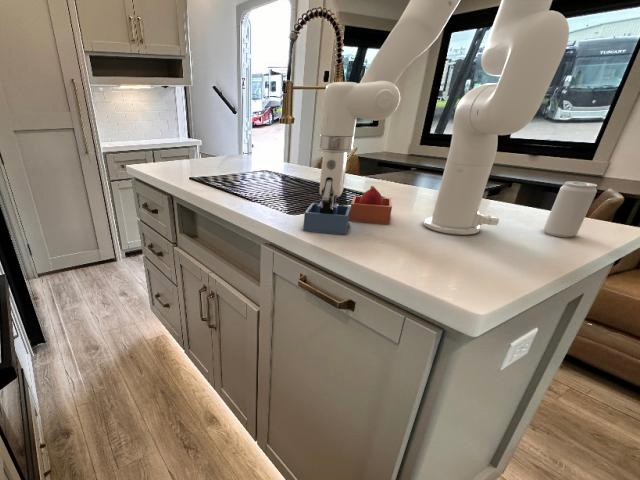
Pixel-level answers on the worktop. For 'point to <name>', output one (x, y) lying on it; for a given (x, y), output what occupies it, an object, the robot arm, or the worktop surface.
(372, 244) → the worktop surface
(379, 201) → the onion
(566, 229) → the beverage can
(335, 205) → the blue block
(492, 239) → the worktop surface
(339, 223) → the blue bin
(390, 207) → the terracotta bin
